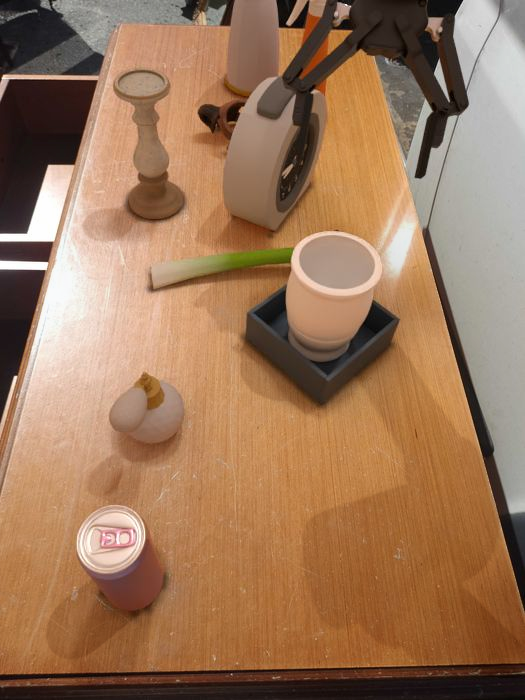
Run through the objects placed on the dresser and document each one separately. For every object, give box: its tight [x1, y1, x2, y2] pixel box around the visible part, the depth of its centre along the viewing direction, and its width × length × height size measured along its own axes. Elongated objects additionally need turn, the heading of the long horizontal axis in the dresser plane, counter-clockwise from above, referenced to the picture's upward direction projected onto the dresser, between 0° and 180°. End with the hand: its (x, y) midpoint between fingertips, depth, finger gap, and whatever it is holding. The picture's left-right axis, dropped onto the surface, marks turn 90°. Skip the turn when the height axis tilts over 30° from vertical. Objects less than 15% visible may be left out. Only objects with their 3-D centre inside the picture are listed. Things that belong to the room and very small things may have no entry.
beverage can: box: [75, 504, 164, 612], centre depth 52 cm, size 6×6×15 cm
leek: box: [149, 229, 341, 290], centre depth 82 cm, size 6×7×30 cm
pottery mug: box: [197, 98, 248, 151], centre depth 100 cm, size 12×10×8 cm
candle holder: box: [112, 67, 184, 220], centre depth 83 cm, size 9×9×20 cm
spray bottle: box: [285, 0, 330, 97], centre depth 96 cm, size 7×11×26 cm, turn 132°
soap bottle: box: [224, 0, 280, 98], centre depth 103 cm, size 11×12×26 cm
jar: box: [286, 230, 383, 362], centre depth 70 cm, size 11×10×15 cm
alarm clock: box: [221, 75, 328, 231], centre depth 85 cm, size 21×8×20 cm, turn 153°
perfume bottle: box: [108, 371, 186, 445], centre depth 62 cm, size 8×10×12 cm
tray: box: [245, 282, 401, 405], centre depth 74 cm, size 14×14×6 cm
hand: (359, 167), depth 62 cm, fingers open, 13 cm apart
